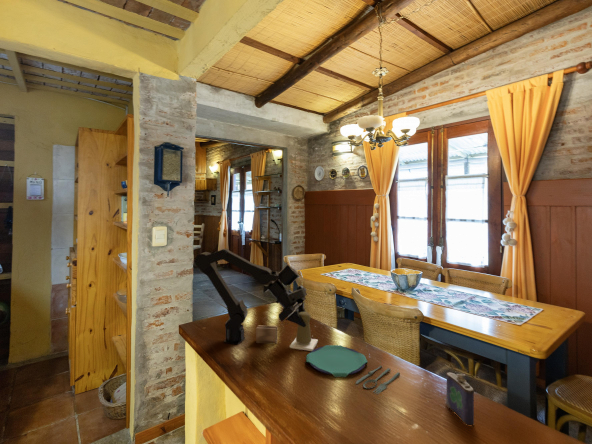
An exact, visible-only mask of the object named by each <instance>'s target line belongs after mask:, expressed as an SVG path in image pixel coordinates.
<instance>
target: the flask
mask: <svg viewBox="0 0 592 444" xmlns="http://www.w3.org/2000/svg"><path fill="white" fill-rule="evenodd" d="M465 376H466V374H465V373H456V374H455V373H453V372H446V392H445V393H446V398H445V405H446V407H447V406H448V407H447V408H448V409H449V408H450V409H449V410H450V411H451V410H452V411H453V412H455V413H456V414H457V415H458V416H459V417H460V418H461V419H460V421H461V420H462V421H463V422H464V423H465V424H467V425H473V424H474V425H475V417H474V416H475V415H474V414H475V410H474V409H475V402H474V401H475V398H474V397H475V395H474V393H475V390H474V388H473V387H472V386H471V385H470V384H469V383H468V382H467V380H466V378H465ZM452 411H451V412H452ZM453 412H452V413H453ZM458 416H457V417H458ZM462 421H461V422H462ZM463 422H462V423H463ZM464 423H463V424H464ZM465 424H464V425H465ZM467 425H466V426H467Z"/></svg>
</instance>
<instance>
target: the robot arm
mask: <svg viewBox="0 0 592 444" xmlns="http://www.w3.org/2000/svg"><path fill="white" fill-rule="evenodd" d="M222 260H224V261H226V262H227V263H228V264H231V265H232V266H235V267H236V268H238V269H240V270H242V271H244V272H246V273H248V275H249V276H250V277H252V278H253V280H255V281H256V282H258V283H259V284H260V285H263V291H262V292H263V293H267V292H269V293H270V294H271V295H272V296H273V297H274V299H276V301H275V302H276V304H278V303H279V305H281V307H282V311H281V312H280V313H279V314H278V319H279V320H280V321H281V322H284V320H285V321H289V322H291V323H293V324H295V325H297V326H298V325H300V326H302V327H305V326H306V324H305V322H304V321H303V319H302V318H301V317H300V315H299V313H300V312H307V311H306V310H305V301H306V299H307V298H306V296H308V293H307V288H305V286H303V285H302V284H300V285H299V286H297V287H296V290H291V289H287V288H286V287H287V286H288V287H289V286H291V285H292V284H293V283H294V282H295V281H296V280H297V279H298V278H299V277H300V274H299V273H298V271H296V269H295V268H293V267H292V266H290V265H289V264H288V263H287V264H286V265H285V266H284V267H283V268H282V269H281V270H280V271H275V270H271V268H269V267H266V266H263V265H259V264H255V263H253V262H252V261H249V260H247V259H246V258H243V257H242V256H241V255H238V254H236V253H235V252H233V251H230V250H229V248H223V249H220V250H216V251H213V252H207V251H204V252H202V253H200V254H197V255H196V256H195V258H194V261H193V263H194V264H195V265H194V266H196V267H197V269H198V270H199V271H200V272H201V273H203V274H204V275H205V276H206V277H207V278H208V279H209V281H210V283H211V284H212V286H213V287H214V288H215V291H216V292H217V293H218V294H219V296H220V298H221V300H222V301H223V303H224V304H225V306H226V310H227V314H228V319H227V320H226V322H225V323H224V327H225V339H224V340H223V343H225V344H230V345H239V344H240V343H242V342H243V341H244V340H245V339H246V337H245V329H244V325H243V324H244V322H245V320H246V318H247V316H248V306H247V305H246V304H245V303H244V300H243V299H241V300H238V299H237V298H236V297H235V295H234V294H233V292H232V291H231V289H230V288H229V286H228V285H227V283H226V281H225V280H224V278H223V277H222V275H221V274H220V272H219V270H218V267H217V262H219V261H222ZM285 286H286V287H285Z"/></svg>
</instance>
